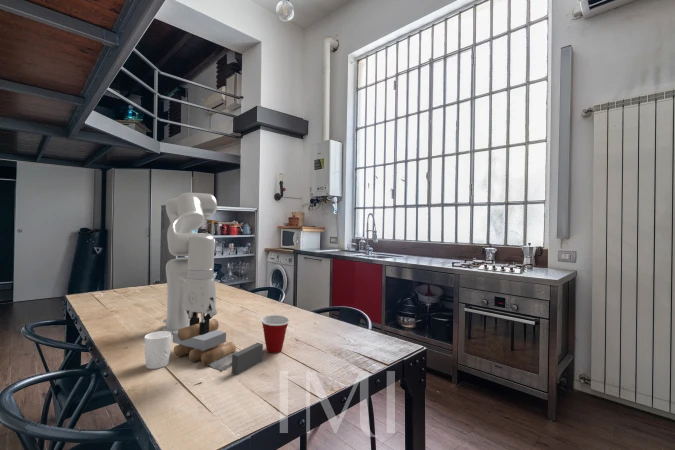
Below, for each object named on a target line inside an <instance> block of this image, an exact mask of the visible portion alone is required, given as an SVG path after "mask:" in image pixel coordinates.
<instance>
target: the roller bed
mask: <svg viewBox="0 0 675 450" xmlns="http://www.w3.org/2000/svg"><path fill="white" fill-rule="evenodd" d="M224 343H225V342H224ZM224 343H222V344H219V345H217V346H215V347H212V348H210V349H207V350H205V351H202V350H198V349H195V348H191V347H187V346H184V345H180V344H177V345H175V346H174V348H173V354H174V356H175V357H176V358H179V357H180V358H181V357H182V356H185V355H187V354H188V357H189V360H190V361H191V362H193V363H194V362H198V361H199V360H200V361H201V363H202V364H203V366H209V363H211V362H213V361H215V360H217V359H220V358H222V357H224V356H226V355H228V354H230V353H233V352H235V351H237V346H236V344H235V343H234V342H232V341H230V342H228V343H225V344H224Z"/></svg>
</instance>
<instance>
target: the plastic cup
mask: <svg viewBox="0 0 675 450" xmlns="http://www.w3.org/2000/svg"><path fill="white" fill-rule="evenodd" d="M290 321H291V320H290V318H289V317H288V316H284V315H279V314H273V315H272V314H270V315H265V316H263V317H261V319H260V322H261V324H262V325H261V326H262V329H263V337H264V342H265V349H266V352H267V353H269V354H275V353H276V354H277V353H280V352H282V350H283V348H284V347H283V346H284V342H285V337H286V333H287V327H288V324H289V323H290Z"/></svg>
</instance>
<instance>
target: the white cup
mask: <svg viewBox="0 0 675 450" xmlns="http://www.w3.org/2000/svg"><path fill="white" fill-rule="evenodd" d="M143 338H144V358H145V367H146V368H147V369H149V370H156V369H161V368H164V367H166V366H168V365H169V363H170V355H171V345H172V334H171V332H168V331H163V330H160V331H158V330H157V331H152V332H149V333H147V334H146V335H144V337H143Z"/></svg>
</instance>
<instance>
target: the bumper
mask: <svg viewBox="0 0 675 450" xmlns="http://www.w3.org/2000/svg"><path fill="white" fill-rule="evenodd" d="M263 349H264V344H263V343H260V342H256V343H254V344H252V345H250V346H247V347H245V348H243V349H241V350H239V351H237V353H234V354H232V366H231V374H232V375H236V376H238V375H240V374H242V373H244V372H246V371H248V370H250V369H251V368H253V367H255V366H257V365H258V364H260V363H262V362H263V357H264V356H263V355H264V354H263V353H264V352H263V351H264V350H263Z"/></svg>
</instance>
